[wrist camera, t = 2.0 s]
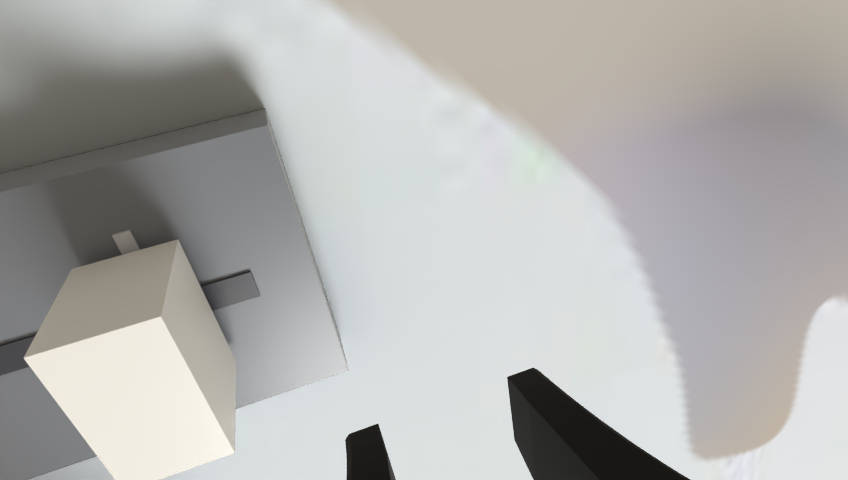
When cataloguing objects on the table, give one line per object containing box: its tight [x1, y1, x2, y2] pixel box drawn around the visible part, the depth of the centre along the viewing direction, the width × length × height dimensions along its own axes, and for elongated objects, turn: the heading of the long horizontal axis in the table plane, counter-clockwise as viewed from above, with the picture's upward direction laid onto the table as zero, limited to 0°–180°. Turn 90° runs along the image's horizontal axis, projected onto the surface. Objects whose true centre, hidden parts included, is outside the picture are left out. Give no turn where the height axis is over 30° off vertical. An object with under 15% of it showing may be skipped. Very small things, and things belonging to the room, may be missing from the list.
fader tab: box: [24, 239, 236, 480], centre depth 15 cm, size 5×3×4 cm, turn 9°
